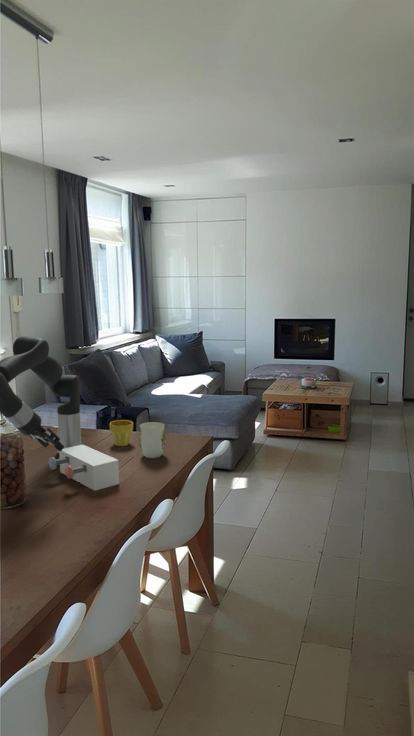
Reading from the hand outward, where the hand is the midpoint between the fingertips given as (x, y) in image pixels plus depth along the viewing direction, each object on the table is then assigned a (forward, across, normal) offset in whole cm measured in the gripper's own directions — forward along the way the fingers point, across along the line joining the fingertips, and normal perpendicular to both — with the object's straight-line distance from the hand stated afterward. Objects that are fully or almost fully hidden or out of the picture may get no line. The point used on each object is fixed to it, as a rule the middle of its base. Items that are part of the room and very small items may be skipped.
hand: (54, 447), depth 193 cm
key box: (+26, +8, -3) cm, 27 cm away
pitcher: (+49, +10, -28) cm, 57 cm away
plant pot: (+50, +32, -31) cm, 67 cm away
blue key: (+18, +15, -1) cm, 24 cm away
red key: (+17, +2, +1) cm, 17 cm away
